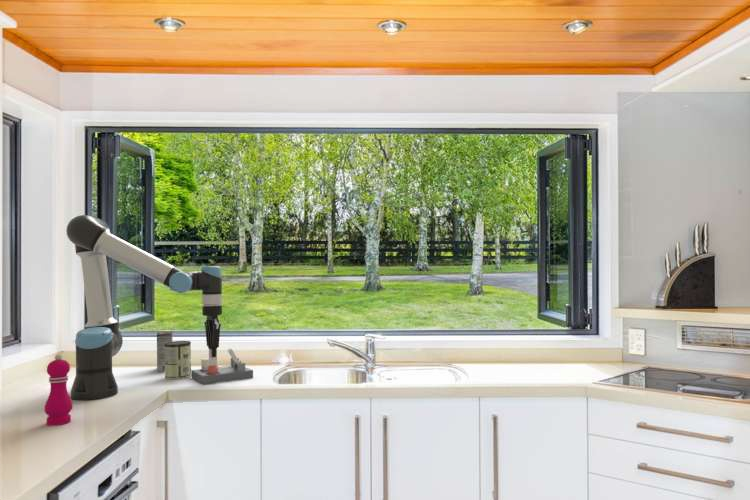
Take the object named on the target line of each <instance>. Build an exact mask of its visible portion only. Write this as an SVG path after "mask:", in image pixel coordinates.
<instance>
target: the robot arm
mask: <svg viewBox="0 0 750 500" xmlns="http://www.w3.org/2000/svg"><path fill="white" fill-rule="evenodd" d="M65 230H66V236H67V238H68V240H69V241H70V242H71V243H72V244H74V248H75V249H74V250H75V254H76V255H77V256H78V257H79V258H80V262H81V269H82V278H83V287H84V296H85V297H84V298H85V304H86V313H87V323H85V325H84V328H83V329H80V330H79V331H77V332H76V334H75V340H74V343H75V378H74V379H73V383H72V386H71V388H70V395H69V396H70V398H71V400H79V401H80V400H81V401H83V400H84V401H85V400H86V401H87V400H88V401H89V400H97V399H104V398H110V397H113V396H115V395H117V394H118V392H119V389H118V388H119V387H118V384H117V380H116V379H115V376H114V373H113V357H115V356H116V355H118V353H119V351H120V350H121V348H122V346H123V342H124V339H123V335H122V333H121V332H120V328H119V327H120V326H119V321H118V320H117V319H116V318H114V316H113V315H114V314H113V306H112V305H113V304H112V298H111V297H112V296H111V288H110V280H109V271H108V263H107V257H109V258H111V259H113V260H115V261H117V262H118V263H120V264H123V265H124V266H126V267H128V268H131V269H133V270H134V271H136V272H138V273H141V274H142V275H144V276H146V277H148V278H150V279H152V280H154V281H156V282H158V283H160V284H161V285H164V286H166V287H167V288H169V290H170V291H172V292H175V293H178V294H182V293H186V292H190V291H191V292H192V291H201V292H202V293H201V304H202V305H203V306H202V307H201V309H202V310H201V312H202V316H205V317H206V320H205V321H204V329H205V330H204V331H205V338H206V339H205V340H206V342H205V343H206V347H207V348H208V358H209V366H213V365H218V348H219V347H220V338H221V337H220V335H221V327H222V324H221V323H220V320H219V317H218V316H221V315H222V314H223V306H222V305H221V304H223V298H224V296H222V295H223V294H222V293H223V290H222V289H223V277H222V267H220V266H219V265H213V266H212V265H211V266H210V265H207V266H206V265H204V266H201V270H198V271H184V270H182V269H180V268H178V267H176V266H174V265H172V264H169V263H168V262H166V261H164V260H162V259H161V258H159V257H156V256H154V255H152V254H151V253H148V252H147V251H145V250H144V249H143V250H142V249H141V248H139V247H138V246H135V245H134V244H131V243H130V242H128V241H126V240H124V239H121V238H120V237H118V236H116V235H114V234H112V233H111V229H110V227H109V225H108V224H107V223H106V222H105V221H104V220H103V219H101V218H99V217H96V216H91V215H87V214H86V215H85V214H82V215H78V216H75V217H73V218H72V219H71V220H70V221H69V222H68V224H67V226H66V229H65Z"/></svg>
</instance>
